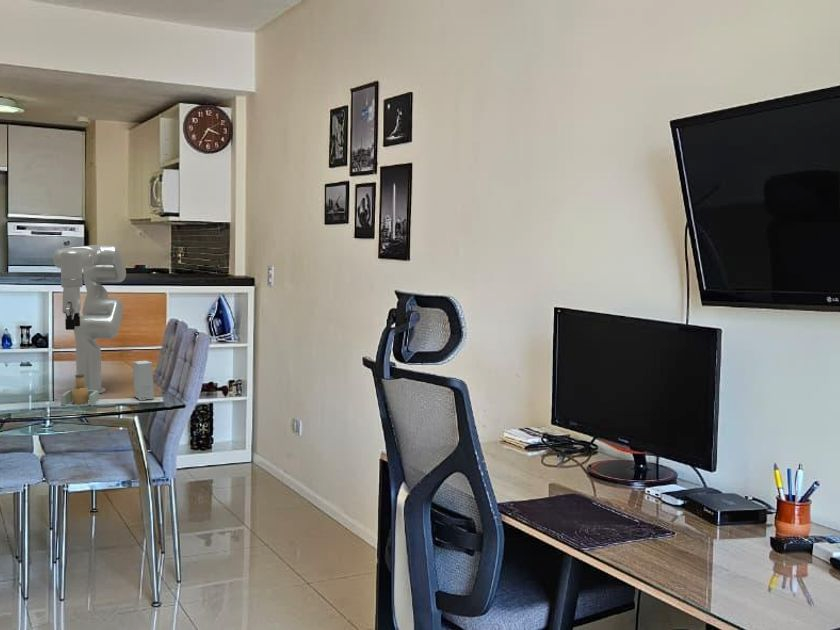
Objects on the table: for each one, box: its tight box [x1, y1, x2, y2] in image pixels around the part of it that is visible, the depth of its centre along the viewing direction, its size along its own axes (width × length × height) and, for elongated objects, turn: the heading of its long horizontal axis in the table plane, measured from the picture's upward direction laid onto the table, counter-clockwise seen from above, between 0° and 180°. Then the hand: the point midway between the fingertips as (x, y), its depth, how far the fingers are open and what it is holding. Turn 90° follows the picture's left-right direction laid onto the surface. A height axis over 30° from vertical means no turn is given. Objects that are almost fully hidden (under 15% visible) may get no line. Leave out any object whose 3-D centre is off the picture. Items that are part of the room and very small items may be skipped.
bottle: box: [71, 374, 89, 405], centre depth 343 cm, size 6×6×11 cm
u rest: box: [60, 389, 100, 407], centre depth 344 cm, size 10×11×4 cm
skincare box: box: [132, 360, 155, 401], centre depth 354 cm, size 8×6×15 cm
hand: (72, 328), depth 341 cm, fingers open, 9 cm apart
